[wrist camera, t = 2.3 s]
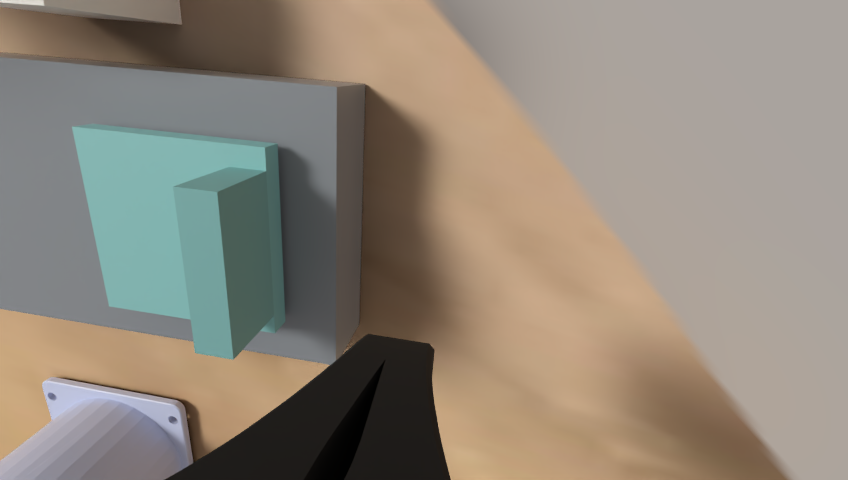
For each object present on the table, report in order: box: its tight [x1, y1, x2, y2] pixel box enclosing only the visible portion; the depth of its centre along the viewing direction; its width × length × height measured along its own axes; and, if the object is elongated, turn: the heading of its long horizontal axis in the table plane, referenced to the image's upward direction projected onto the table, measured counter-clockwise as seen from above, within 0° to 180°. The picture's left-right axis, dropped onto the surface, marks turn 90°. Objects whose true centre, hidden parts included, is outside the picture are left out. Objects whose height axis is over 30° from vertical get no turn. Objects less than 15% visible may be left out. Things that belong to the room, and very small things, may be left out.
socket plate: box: [0, 52, 365, 365], centre depth 18 cm, size 10×16×3 cm, turn 86°
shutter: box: [72, 124, 285, 359], centre depth 14 cm, size 6×6×3 cm
